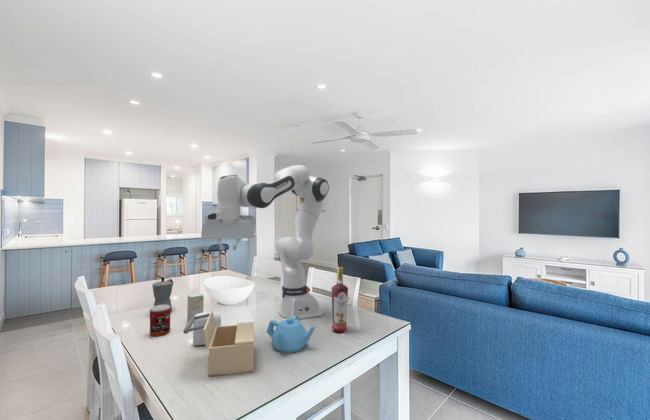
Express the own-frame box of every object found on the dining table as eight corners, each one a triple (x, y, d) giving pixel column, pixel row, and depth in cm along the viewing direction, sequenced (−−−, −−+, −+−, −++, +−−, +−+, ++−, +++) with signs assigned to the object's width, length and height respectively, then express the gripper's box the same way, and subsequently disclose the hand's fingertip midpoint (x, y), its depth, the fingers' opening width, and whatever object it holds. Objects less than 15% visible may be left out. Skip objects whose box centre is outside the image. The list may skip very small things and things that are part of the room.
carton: (253, 346, 116) (253, 321, 116) (253, 371, 99) (253, 341, 99) (215, 350, 113) (215, 324, 113) (208, 376, 95) (208, 345, 95)
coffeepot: (163, 317, 146) (163, 280, 146) (145, 317, 147) (145, 280, 147) (180, 307, 162) (181, 274, 162) (163, 306, 162) (164, 273, 162)
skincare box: (190, 323, 139) (190, 297, 139) (186, 320, 142) (187, 295, 142) (203, 320, 143) (204, 294, 143) (200, 317, 147) (200, 292, 147)
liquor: (333, 334, 128) (334, 269, 128) (329, 328, 135) (329, 266, 135) (350, 333, 130) (350, 268, 130) (344, 326, 137) (345, 265, 137)
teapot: (300, 334, 128) (300, 309, 128) (316, 349, 115) (316, 321, 115) (265, 342, 121) (265, 315, 121) (278, 358, 108) (278, 328, 108)
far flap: (212, 309, 112) (191, 314, 111) (205, 327, 96) (180, 332, 94) (215, 326, 113) (194, 331, 111) (208, 347, 96) (184, 353, 94)
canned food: (149, 338, 123) (149, 311, 123) (150, 331, 130) (150, 305, 130) (170, 334, 127) (170, 308, 127) (170, 328, 134) (170, 303, 134)
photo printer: (221, 340, 122) (221, 309, 122) (219, 344, 118) (220, 313, 118) (194, 342, 120) (194, 311, 120) (191, 347, 116) (192, 315, 116)
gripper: (255, 215, 125) (255, 248, 125) (203, 215, 120) (202, 249, 120) (255, 215, 119) (255, 250, 119) (200, 215, 114) (200, 251, 114)
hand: (228, 249), depth 120 cm, fingers open, 3 cm apart
